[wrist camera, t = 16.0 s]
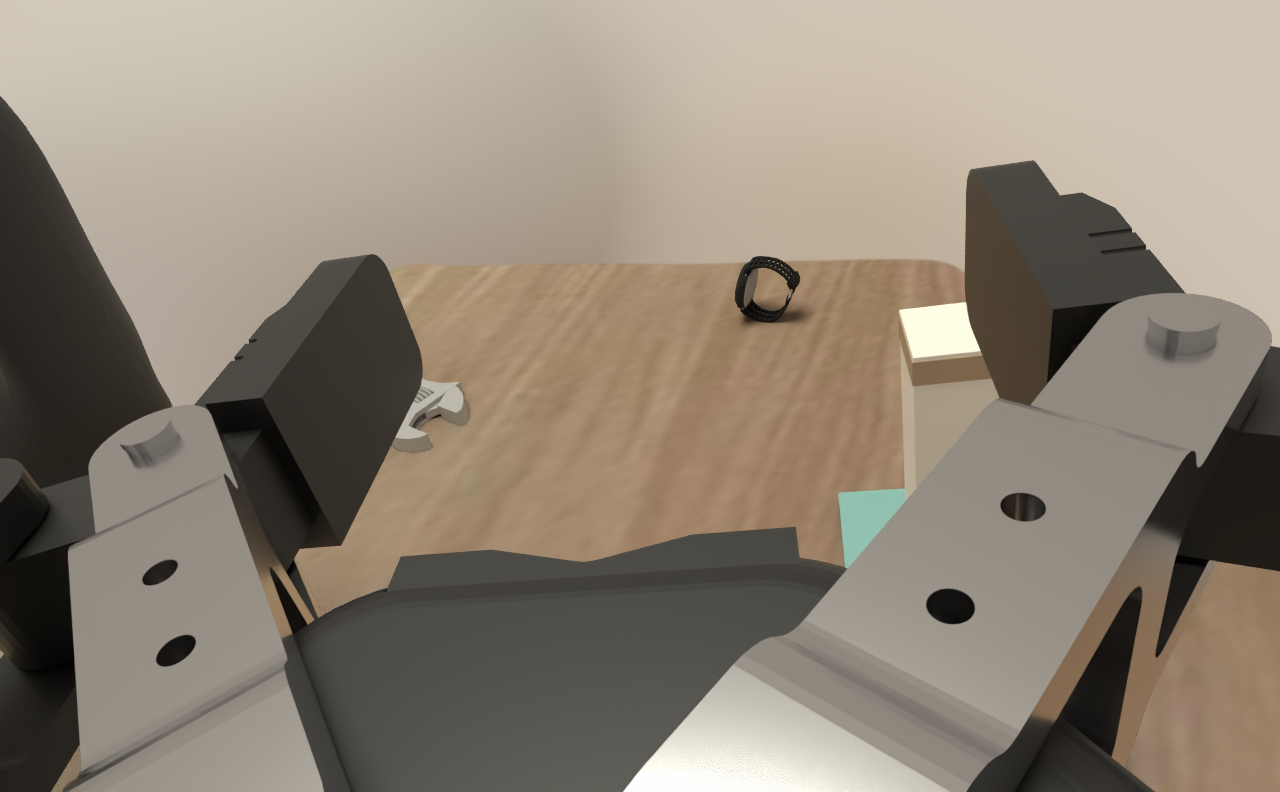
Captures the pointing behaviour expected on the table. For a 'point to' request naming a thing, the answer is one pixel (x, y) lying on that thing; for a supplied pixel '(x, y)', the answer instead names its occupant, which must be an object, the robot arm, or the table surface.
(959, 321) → the post
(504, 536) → the table surface
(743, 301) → the smartwatch
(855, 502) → the mat
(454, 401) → the adjustable wrench
